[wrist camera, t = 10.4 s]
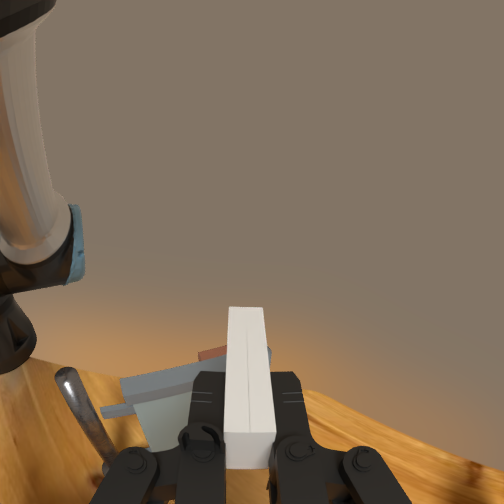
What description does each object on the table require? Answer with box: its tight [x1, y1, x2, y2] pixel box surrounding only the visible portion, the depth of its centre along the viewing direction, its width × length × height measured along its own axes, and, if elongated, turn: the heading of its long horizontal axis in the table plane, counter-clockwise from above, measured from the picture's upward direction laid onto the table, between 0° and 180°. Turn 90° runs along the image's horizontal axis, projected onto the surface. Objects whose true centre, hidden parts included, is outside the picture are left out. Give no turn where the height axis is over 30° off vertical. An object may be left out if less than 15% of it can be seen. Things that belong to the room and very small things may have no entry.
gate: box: [100, 346, 271, 452], centre depth 25 cm, size 16×2×14 cm, turn 117°
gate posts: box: [55, 345, 227, 476], centre depth 25 cm, size 18×7×16 cm, turn 117°
